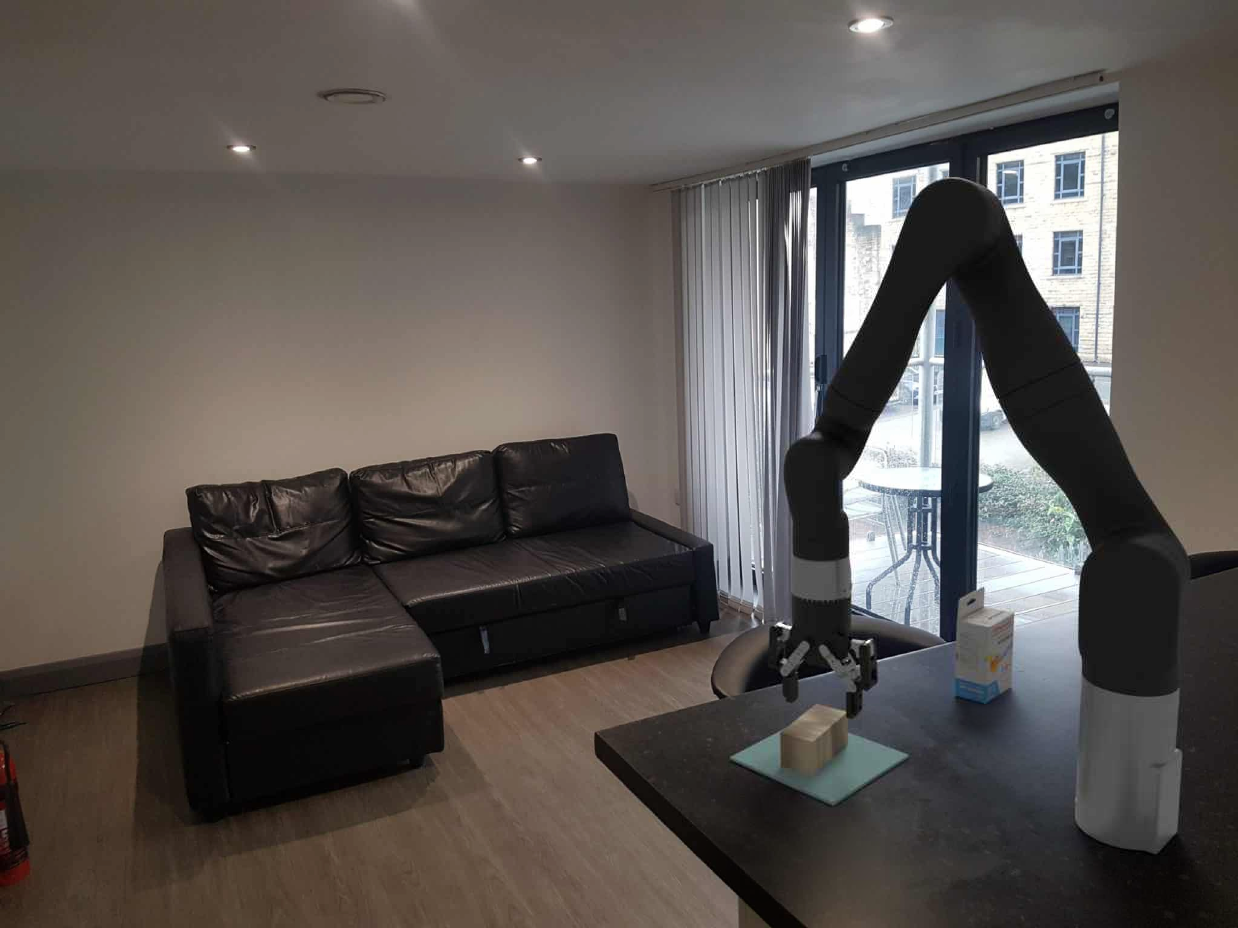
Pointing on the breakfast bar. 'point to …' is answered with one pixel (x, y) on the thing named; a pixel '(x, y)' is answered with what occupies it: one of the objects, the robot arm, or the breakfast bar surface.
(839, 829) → the breakfast bar surface
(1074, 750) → the breakfast bar surface
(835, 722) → the block
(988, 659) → the ink box
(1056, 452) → the robot arm
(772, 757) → the mat
